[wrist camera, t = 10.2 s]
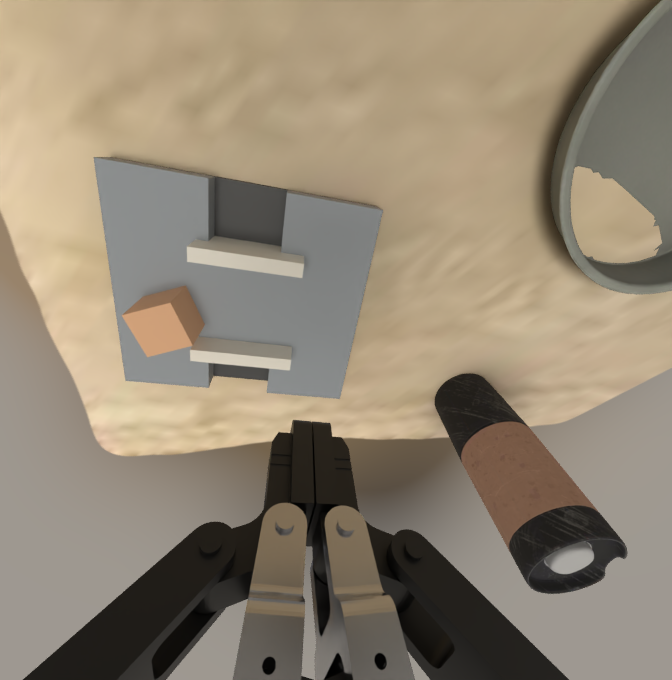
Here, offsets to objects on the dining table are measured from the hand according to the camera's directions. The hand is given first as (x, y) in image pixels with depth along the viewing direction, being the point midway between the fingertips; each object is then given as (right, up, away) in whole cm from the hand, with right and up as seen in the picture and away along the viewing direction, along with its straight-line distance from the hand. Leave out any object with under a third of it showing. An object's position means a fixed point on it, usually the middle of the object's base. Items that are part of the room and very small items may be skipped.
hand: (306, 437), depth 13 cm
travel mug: (+17, -3, +29) cm, 33 cm away
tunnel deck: (-8, +9, +19) cm, 22 cm away
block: (-14, +7, +17) cm, 23 cm away
